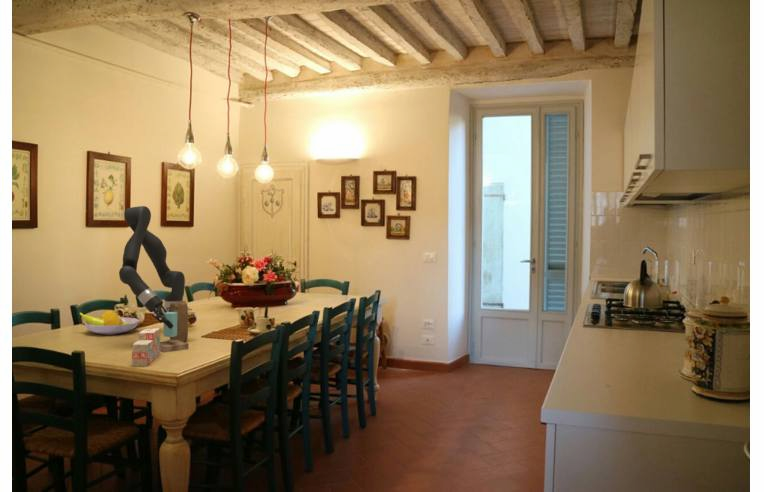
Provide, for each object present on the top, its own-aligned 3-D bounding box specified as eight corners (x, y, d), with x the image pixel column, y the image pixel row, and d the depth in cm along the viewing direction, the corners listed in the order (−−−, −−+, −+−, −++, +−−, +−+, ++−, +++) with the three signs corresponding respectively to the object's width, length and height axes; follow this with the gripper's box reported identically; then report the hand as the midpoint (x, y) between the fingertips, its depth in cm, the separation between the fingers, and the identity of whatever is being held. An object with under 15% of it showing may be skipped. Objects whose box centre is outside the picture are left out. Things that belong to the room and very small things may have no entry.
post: (168, 334, 272) (168, 312, 271) (177, 335, 271) (177, 312, 271) (163, 336, 267) (163, 313, 267) (172, 337, 267) (173, 313, 266)
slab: (177, 345, 278) (177, 339, 278) (188, 350, 269) (188, 343, 269) (152, 349, 270) (152, 342, 270) (163, 353, 261) (163, 347, 261)
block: (188, 342, 285) (189, 302, 284) (173, 343, 280) (174, 303, 279) (181, 338, 293) (182, 299, 292) (167, 339, 289) (167, 300, 288)
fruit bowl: (146, 328, 319) (146, 308, 318) (125, 337, 292) (126, 315, 291) (95, 327, 318) (95, 307, 317) (70, 337, 291) (70, 315, 290)
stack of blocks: (147, 366, 237) (147, 337, 236) (131, 366, 236) (131, 337, 235) (160, 354, 258) (160, 327, 257) (146, 354, 257) (146, 327, 256)
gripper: (148, 296, 262) (172, 323, 261) (163, 293, 276) (186, 318, 276) (137, 307, 263) (161, 334, 262) (152, 303, 277) (175, 329, 276)
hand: (174, 326), depth 269 cm, fingers closed on post, 4 cm apart
